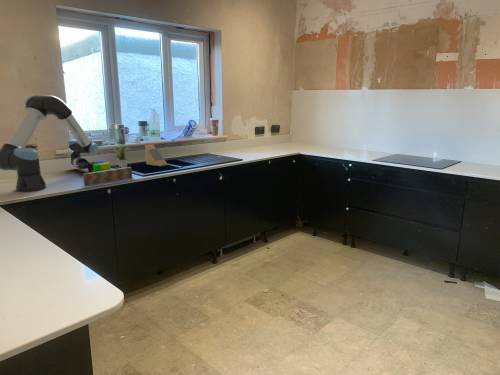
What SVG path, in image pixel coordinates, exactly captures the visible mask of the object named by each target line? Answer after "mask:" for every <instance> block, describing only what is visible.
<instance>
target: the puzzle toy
mask: <svg viewBox="0 0 500 375" xmlns="http://www.w3.org/2000/svg"><path fill="white" fill-rule="evenodd" d="M87 164H88V168H87V170H88V172H87V173H92V172H98V171H105V170H112V168H111V167H112V166H111V162H107V161H96V162H95V161H94V163H91V162H90V163H87Z"/></svg>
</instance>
